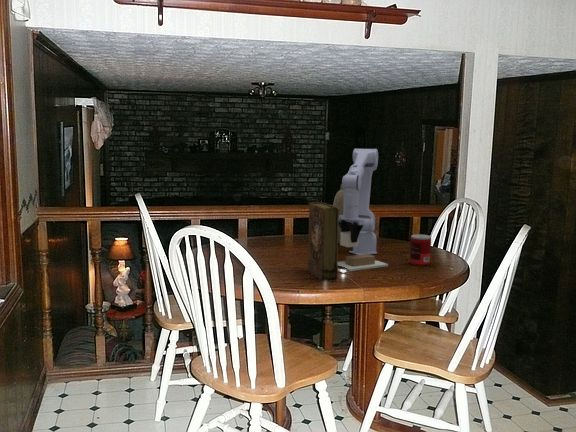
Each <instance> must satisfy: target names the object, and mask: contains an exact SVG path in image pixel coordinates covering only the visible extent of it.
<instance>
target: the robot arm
mask: <svg viewBox="0 0 576 432" xmlns="http://www.w3.org/2000/svg"><path fill="white" fill-rule="evenodd" d="M378 151H379V150H378V149H377V148H357V147H356V148H354V149H353V151H352V162H353V164H352V165H351V166H349V170H348V172H346V174H345V175H343V176H342V180H341V184H342V187H343V194H344V206H343V215H339V220H341V222H339V226H340V229H341V232H349V231H350V232H351V242H352V243H354V242H357V240H358V236H359V245H358V246H356V247H352V250H349V251H348V253H351V254H353V255H362V254H369V255H375V254H376V255H377V254H378V252H377V234H375V232H374V231H375V227H376V215H375V214H374V212H373V211H371V210H370V199H371V187H372V176H373V172H374V171H376V170H377V167H378V165H379V164H378V163H379V162H378V161H379V152H378ZM358 216H364V217H358Z"/></svg>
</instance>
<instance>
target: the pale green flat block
mask: <svg viewBox="0 0 576 432" xmlns="http://www.w3.org/2000/svg"><path fill="white" fill-rule="evenodd" d="M338 266H342V267H345V268H347V269H348V270H349V271H348V272H353V271H363V270H370V269H371V270H372V269H377V268H378V269H379V268H385V267H386V268H387V267H389V264H388V263H386V262H383V261H380V260H376V256H375V255H373V254H362V255H356V254H353V255H345V260H341V261H340V260H339V261H338Z"/></svg>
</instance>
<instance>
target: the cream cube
mask: <svg viewBox="0 0 576 432" xmlns="http://www.w3.org/2000/svg"><path fill="white" fill-rule="evenodd" d="M339 245H340V246H342V247H346V248H353V247H356V246H358V245H359V236H358V240H357V242H354V243H352V242H351V232H350V231H349V232H341V238H340V244H339Z"/></svg>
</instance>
